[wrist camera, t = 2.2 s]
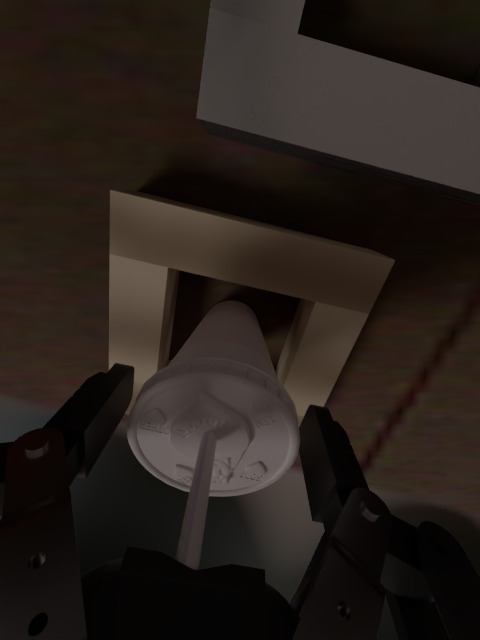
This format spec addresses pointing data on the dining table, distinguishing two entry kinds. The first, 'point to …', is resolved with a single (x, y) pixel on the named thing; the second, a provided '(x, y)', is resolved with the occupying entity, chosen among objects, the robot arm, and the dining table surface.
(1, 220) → the dining table surface
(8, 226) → the dining table surface
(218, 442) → the smoothie
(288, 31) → the ring
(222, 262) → the socket block
